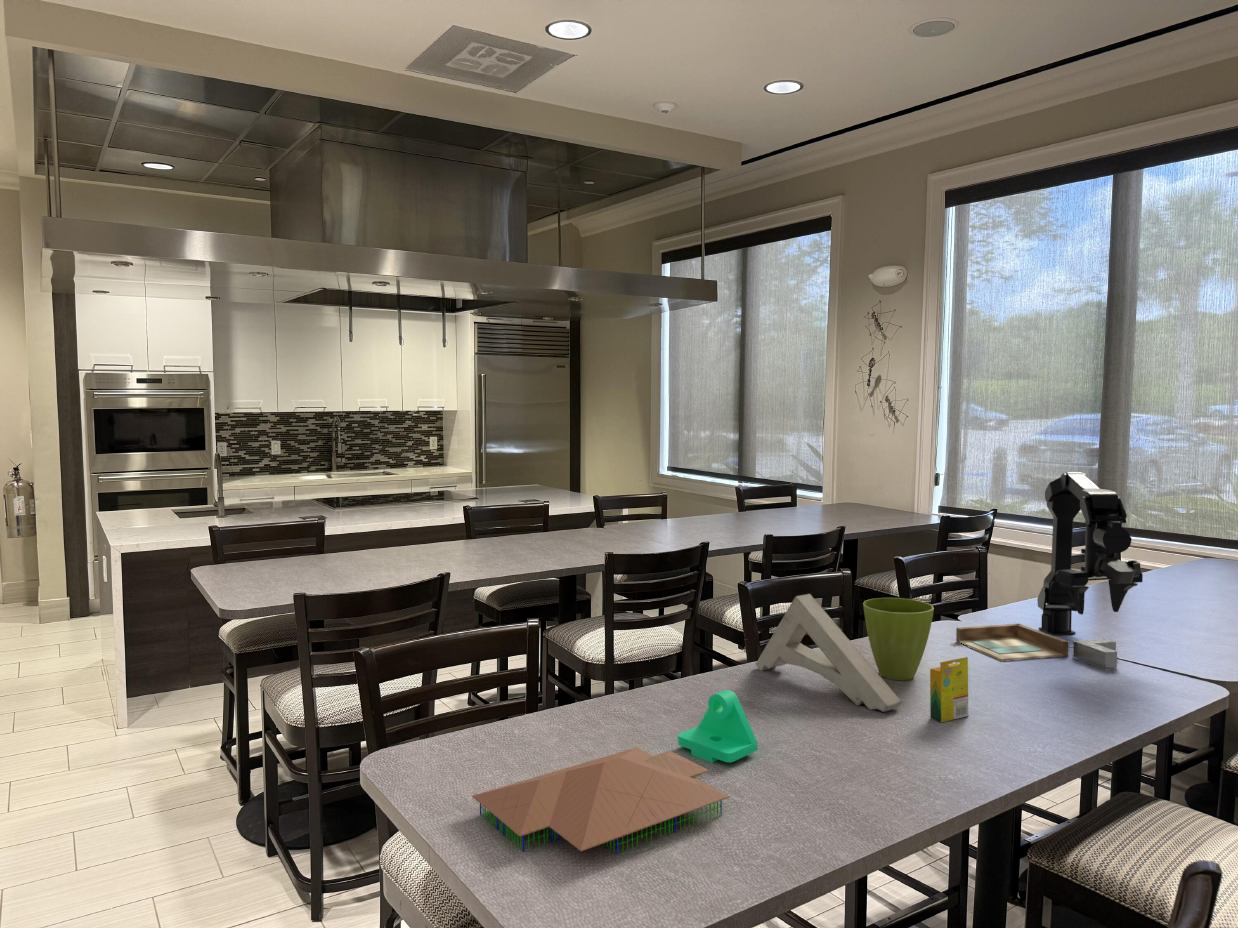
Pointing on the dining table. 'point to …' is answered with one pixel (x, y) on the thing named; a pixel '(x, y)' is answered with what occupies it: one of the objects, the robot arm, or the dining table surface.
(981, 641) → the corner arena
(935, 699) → the crayon box
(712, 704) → the camera mount
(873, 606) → the flower pot
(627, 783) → the house
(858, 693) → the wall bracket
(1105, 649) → the angle bracket
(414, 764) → the dining table surface
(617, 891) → the dining table surface
